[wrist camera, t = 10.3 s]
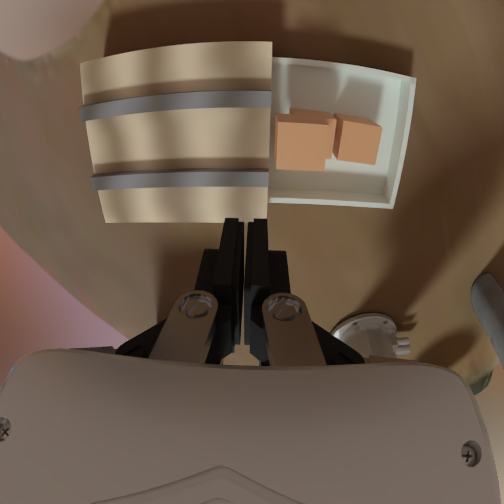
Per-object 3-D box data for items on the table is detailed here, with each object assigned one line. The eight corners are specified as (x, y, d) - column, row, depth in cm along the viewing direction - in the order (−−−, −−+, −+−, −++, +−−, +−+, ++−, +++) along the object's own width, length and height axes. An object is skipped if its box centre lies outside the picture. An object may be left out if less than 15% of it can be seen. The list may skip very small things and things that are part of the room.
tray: (403, 75, 26) (416, 78, 23) (384, 197, 34) (393, 208, 32) (269, 57, 26) (271, 57, 23) (265, 190, 35) (266, 202, 32)
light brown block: (333, 112, 28) (369, 118, 28) (328, 148, 31) (363, 152, 31) (343, 120, 25) (382, 127, 25) (337, 160, 28) (375, 165, 28)
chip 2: (289, 107, 28) (327, 112, 28) (286, 144, 31) (323, 147, 31) (293, 114, 25) (336, 119, 25) (289, 155, 27) (331, 159, 28)
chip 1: (319, 115, 25) (328, 125, 22) (316, 156, 27) (324, 171, 24) (275, 113, 25) (277, 122, 22) (273, 154, 27) (276, 169, 24)
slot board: (270, 44, 25) (272, 41, 20) (265, 201, 35) (266, 228, 31) (102, 60, 25) (74, 64, 20) (121, 202, 36) (102, 227, 31)
